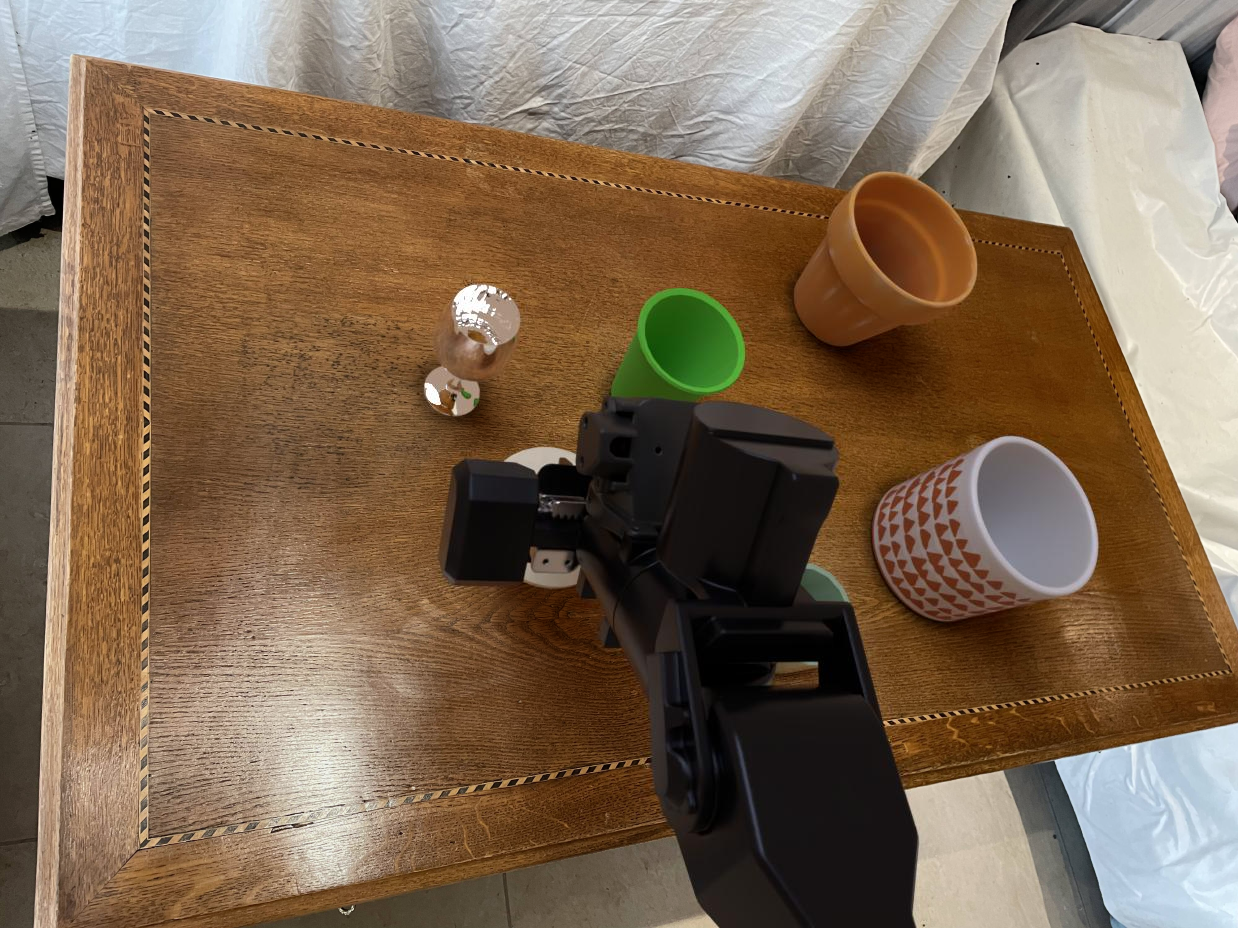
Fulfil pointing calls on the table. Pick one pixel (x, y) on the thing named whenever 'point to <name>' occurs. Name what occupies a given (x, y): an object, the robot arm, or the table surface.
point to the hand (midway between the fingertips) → (581, 466)
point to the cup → (681, 349)
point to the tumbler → (820, 589)
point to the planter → (986, 532)
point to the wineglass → (471, 347)
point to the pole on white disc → (536, 461)
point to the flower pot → (885, 262)
